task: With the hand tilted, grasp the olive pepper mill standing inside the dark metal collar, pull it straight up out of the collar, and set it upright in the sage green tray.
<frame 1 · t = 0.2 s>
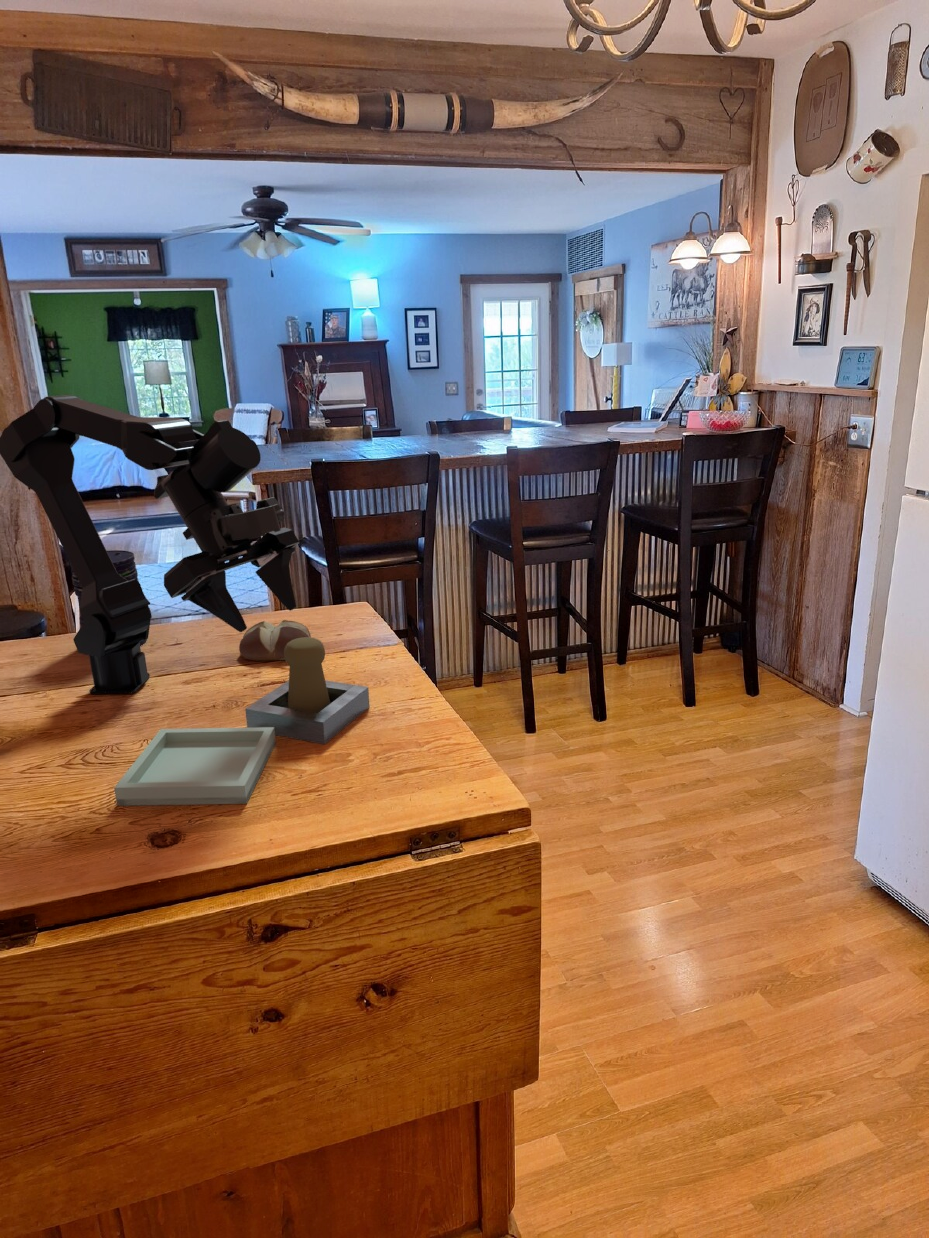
hand: (269, 619, 101), 14 cm above the countertop, tool tilted 35°, fingers open, 9 cm apart
olive pepper mill: (310, 719, 107), resting in metal collar
black cylinder: (116, 645, 136), on the countertop
bread: (278, 652, 132), on the countertop
metal collar: (310, 718, 107), on the countertop
green tray: (202, 772, 94), on the countertop
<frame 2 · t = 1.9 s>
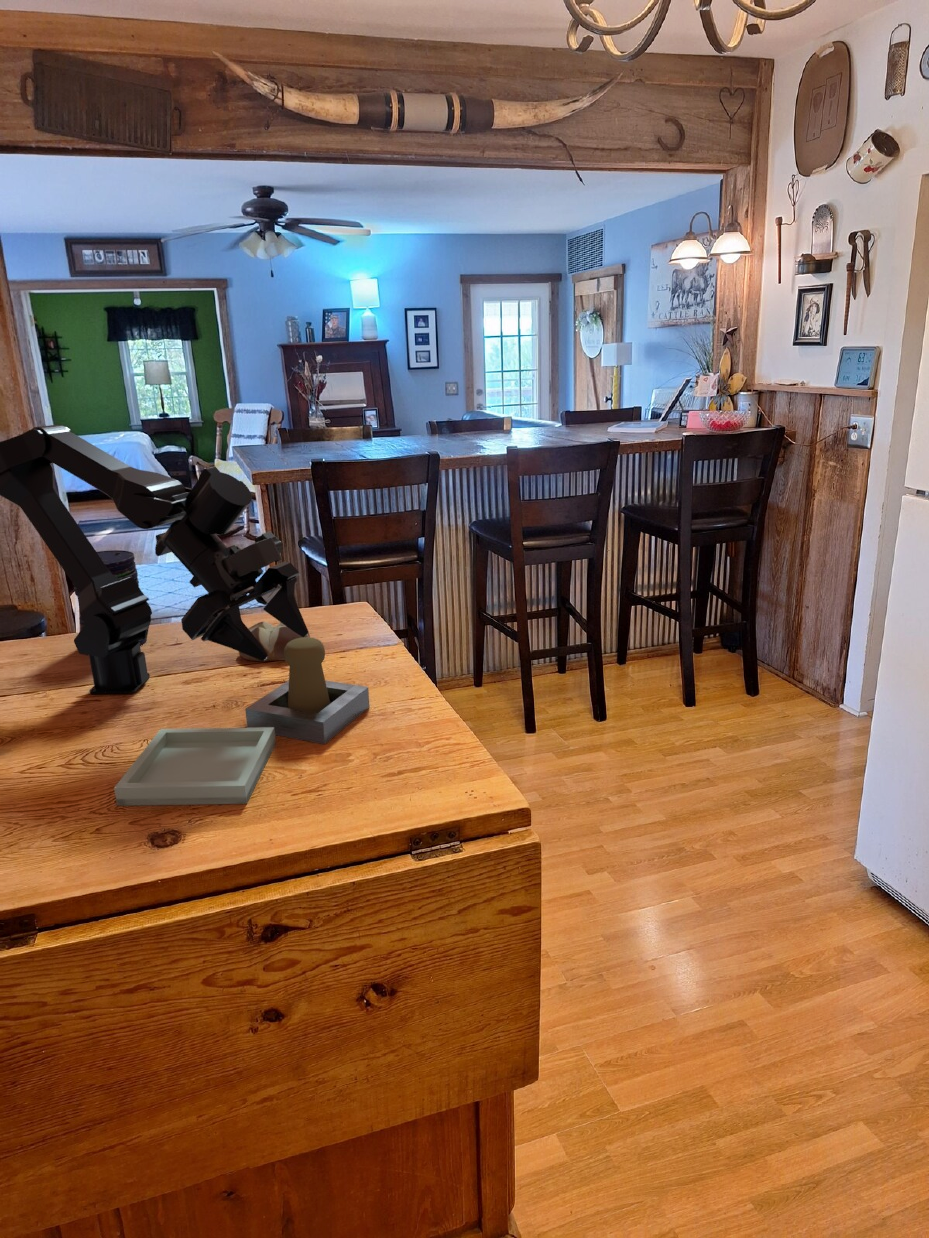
hand: (286, 646, 105), 10 cm above the countertop, tool tilted 45°, fingers open, 9 cm apart
nothing on the countertop moved.
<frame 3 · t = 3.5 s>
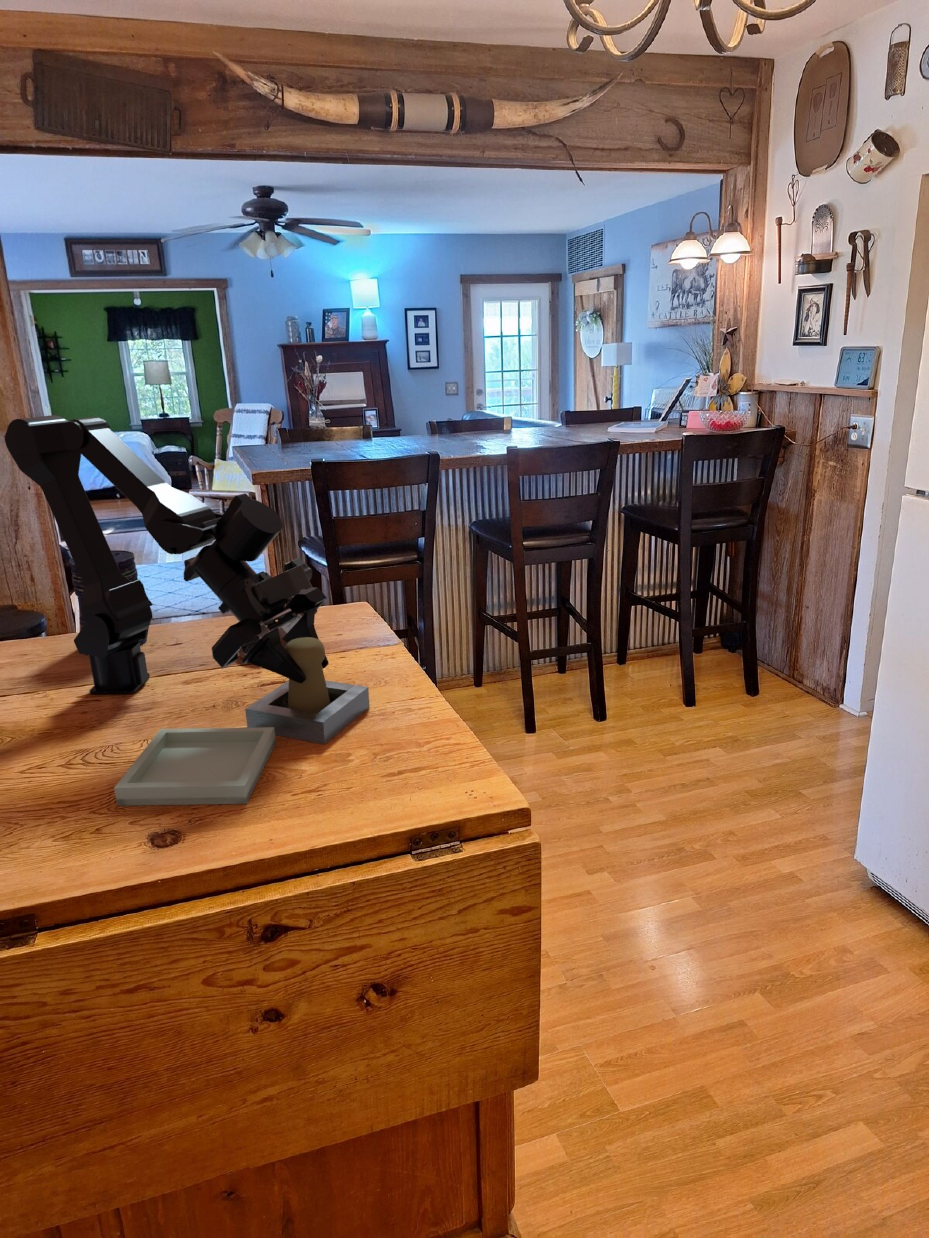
hand: (315, 673, 104), 7 cm above the countertop, tool tilted 45°, fingers closed on olive pepper mill, 5 cm apart
olive pepper mill: (310, 719, 107), resting in metal collar, touching gripper
everything else where it was.
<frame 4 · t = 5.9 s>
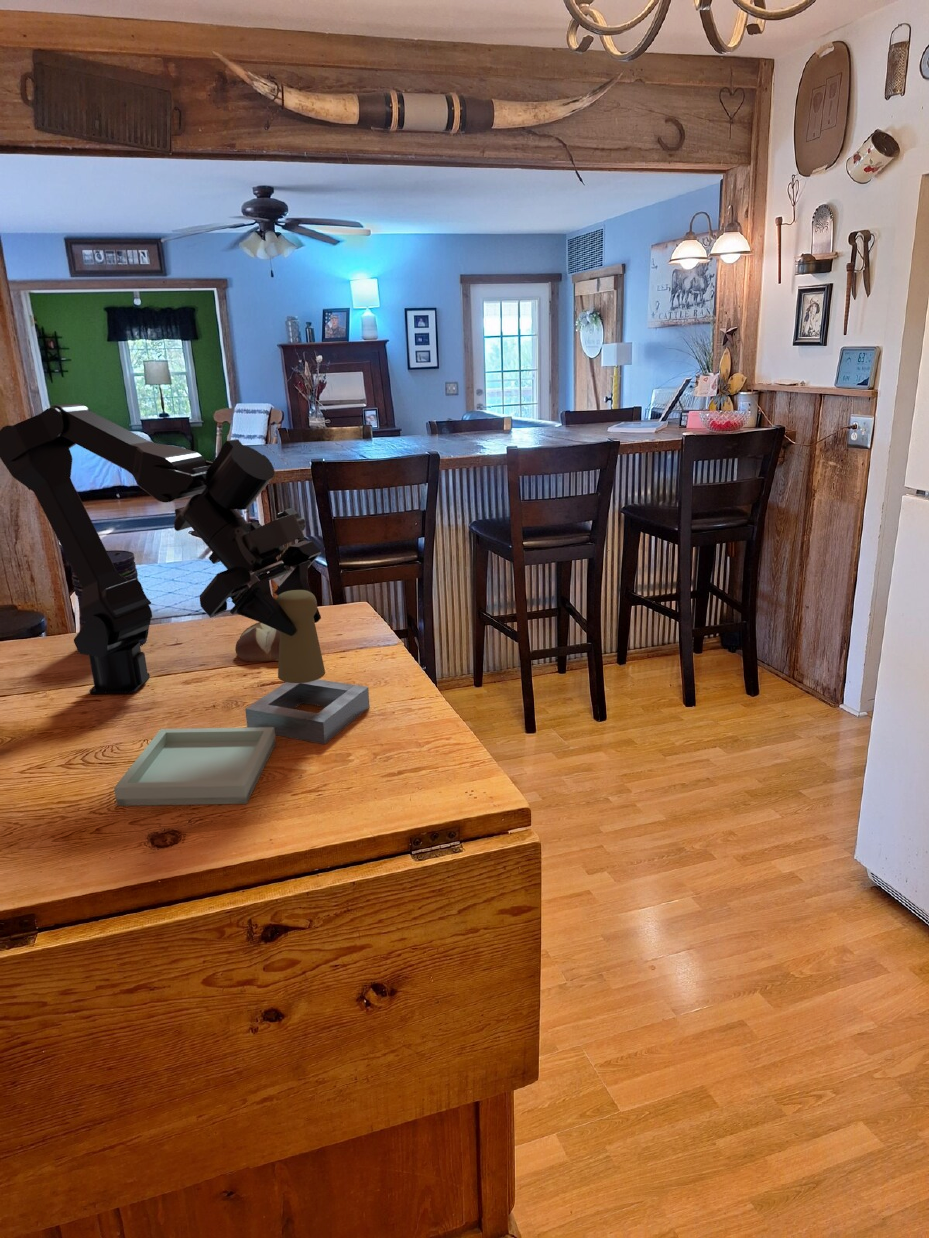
hand: (306, 627, 102), 13 cm above the countertop, tool tilted 45°, fingers closed on olive pepper mill, 5 cm apart
olive pepper mill: (301, 675, 104), point 6 cm above the countertop, touching gripper
everything else where it was.
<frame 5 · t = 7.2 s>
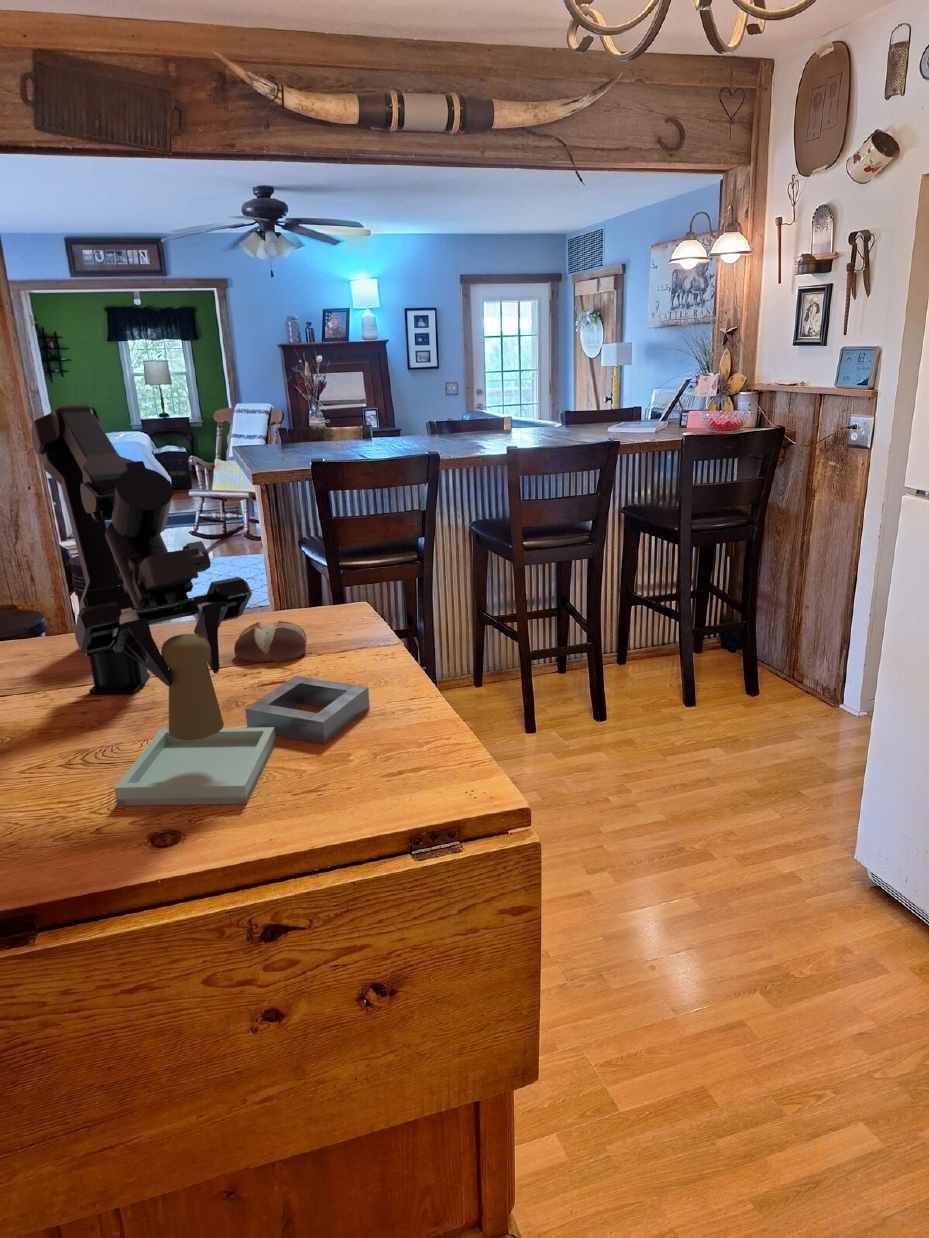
hand: (194, 677, 89), 12 cm above the countertop, tool tilted 45°, fingers closed on olive pepper mill, 5 cm apart
olive pepper mill: (196, 729, 92), point 5 cm above the countertop, touching gripper
everything else where it was.
when the fingers open (9 cm above the countertop, at t = 8.3 s): olive pepper mill drops 1 cm, resting on green tray.
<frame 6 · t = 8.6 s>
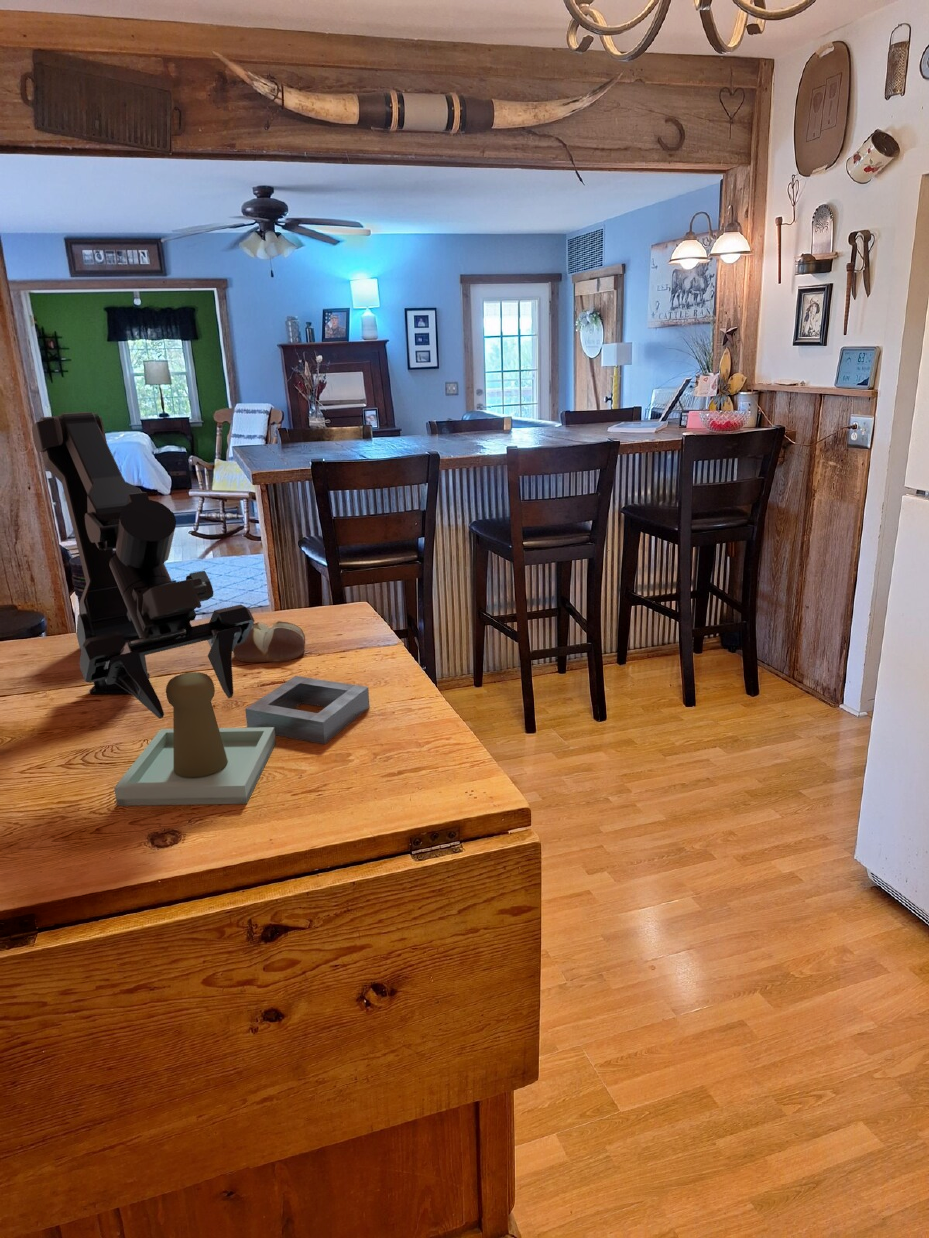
hand: (197, 706, 90), 9 cm above the countertop, tool tilted 45°, fingers open, 8 cm apart
olive pepper mill: (201, 766, 94), point 1 cm above the countertop, touching green tray
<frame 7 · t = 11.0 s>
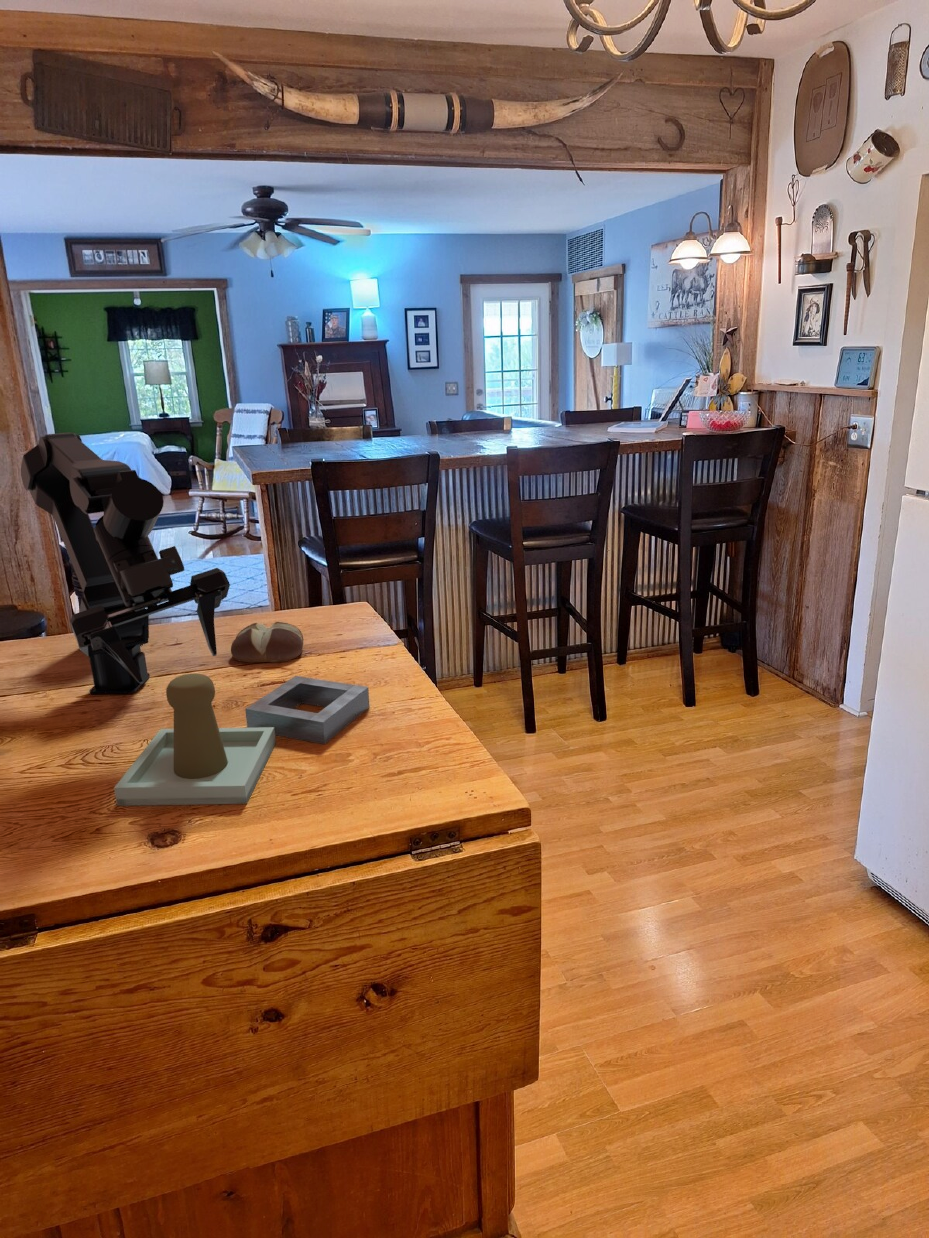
hand: (179, 668, 100), 9 cm above the countertop, tool tilted 35°, fingers open, 9 cm apart
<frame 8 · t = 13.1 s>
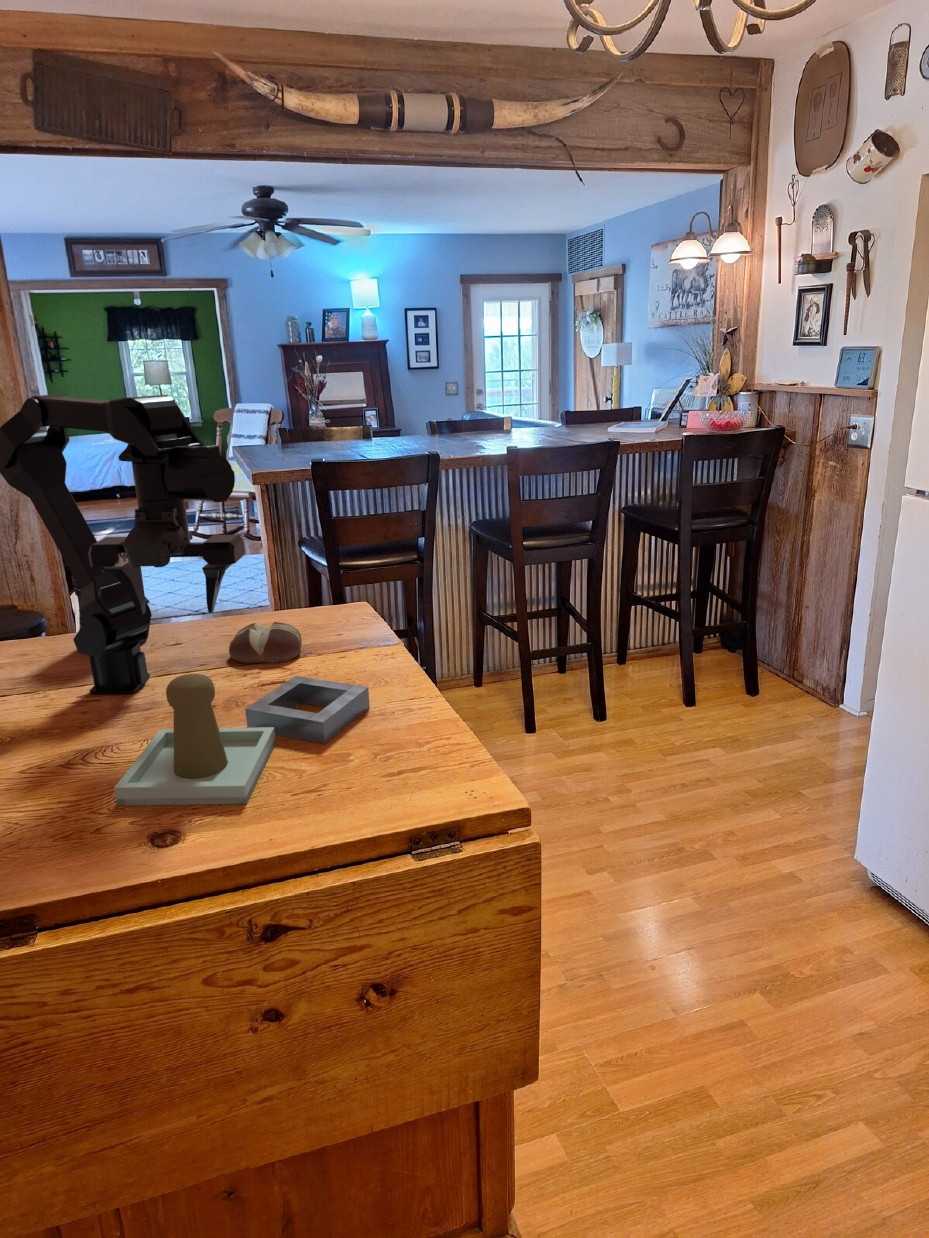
hand: (177, 612, 109), 13 cm above the countertop, tool pointing down, fingers open, 9 cm apart
at the end: olive pepper mill inside the target area on the green tray (0.1 cm from its centre), point 0.6 cm above the green tray's base; olive pepper mill tilted 0°; the gripper is holding nothing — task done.
